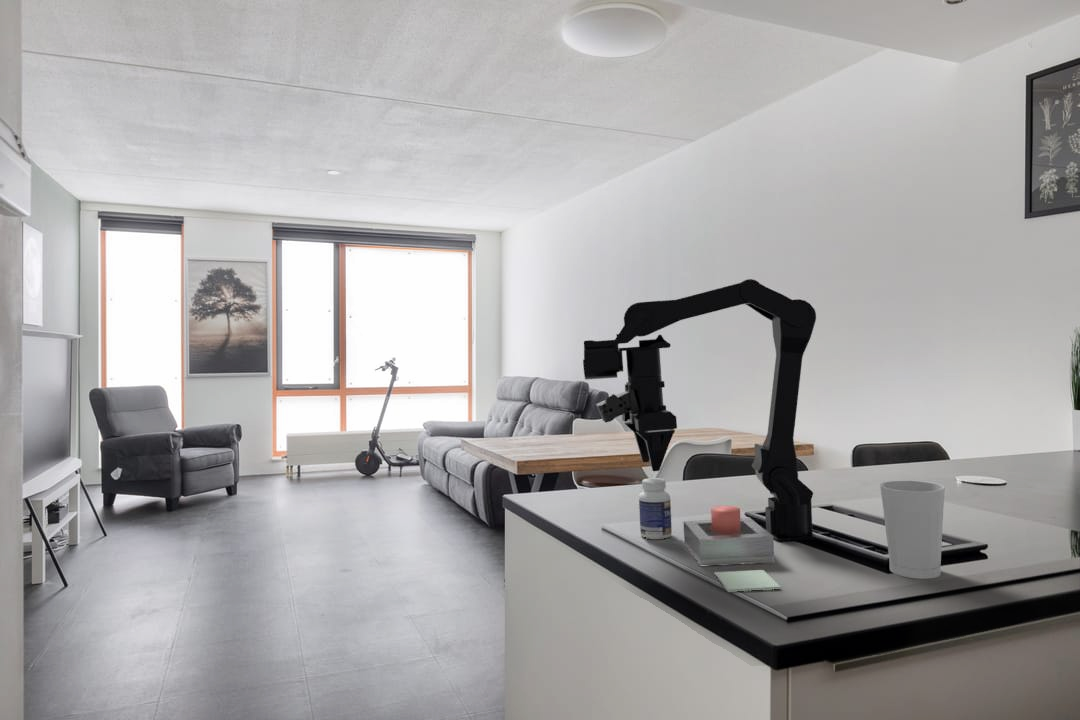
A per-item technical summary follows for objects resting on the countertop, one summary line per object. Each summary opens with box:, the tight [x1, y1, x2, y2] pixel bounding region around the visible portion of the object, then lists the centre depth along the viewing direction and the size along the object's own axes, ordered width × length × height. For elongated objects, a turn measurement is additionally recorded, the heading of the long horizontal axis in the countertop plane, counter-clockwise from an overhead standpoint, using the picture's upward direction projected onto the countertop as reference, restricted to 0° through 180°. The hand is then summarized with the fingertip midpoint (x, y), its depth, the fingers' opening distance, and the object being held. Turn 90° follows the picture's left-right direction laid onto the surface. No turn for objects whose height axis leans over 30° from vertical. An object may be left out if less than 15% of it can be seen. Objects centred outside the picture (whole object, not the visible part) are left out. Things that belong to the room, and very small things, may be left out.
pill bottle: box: [638, 477, 673, 540], centre depth 122 cm, size 5×5×10 cm
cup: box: [879, 479, 946, 580], centre depth 98 cm, size 8×8×12 cm
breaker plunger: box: [710, 505, 741, 534], centre depth 110 cm, size 4×4×3 cm
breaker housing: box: [683, 517, 775, 566], centre depth 110 cm, size 11×11×4 cm
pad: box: [714, 569, 781, 593], centre depth 97 cm, size 7×7×1 cm
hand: (650, 466), depth 121 cm, fingers open, 9 cm apart
